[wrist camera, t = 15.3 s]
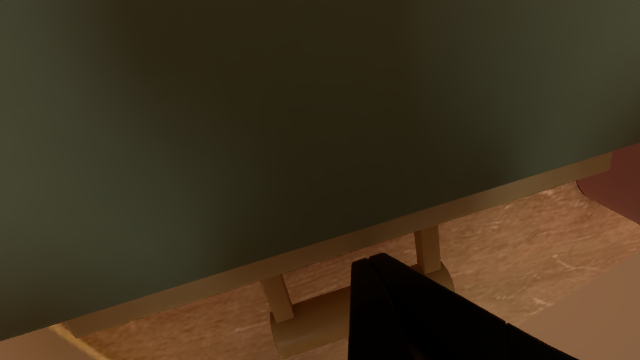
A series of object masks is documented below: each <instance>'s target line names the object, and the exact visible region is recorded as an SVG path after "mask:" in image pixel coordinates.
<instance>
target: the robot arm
mask: <svg viewBox="0 0 640 360" xmlns="http://www.w3.org/2000/svg"><path fill="white" fill-rule="evenodd" d="M348 360H578V359H576V358H574V357H572V356H570V355H568V354H566V353H564V352H562V351H560V350H558V349H556V348H554V347H551V346H550V345H548V344H546V343H544V342H542V341H540V340H539V339H537V338H535V337H533V336H531V335H529V334H528V333H526V332H524V331H522V330H520V329H519V328H517V327H515V326H513V325H512V324H510V323H507V324H506V322H505V321H504V320H502V319H501V318H499V317H497V316H495V315H494V314H492V313H490V312H488V311H487V310H485V309H483V308H481V307H480V306H478V305H476V304H474V303H472V302H471V301H469V300H467V299H465V298H464V297H462V296H460V295H458V294H457V293H455V292H453V291H451V290H450V289H448V288H446V287H444V286H442V285H441V284H439V283H437V282H435V281H434V280H432V279H430V278H428V277H427V276H425V275H423V274H421V273H420V272H418V271H416V270H414V269H413V268H411V267H409V266H407V265H405V264H404V263H402V262H400V261H398V260H397V259H395V258H393V257H391V256H390V255H388V254H386V253H379V254H376V255H373V256H370V257H369V259H367V258H363V259H360V260H357V261H354V262H353V263H352V265H351V289H350V315H349V340H348Z"/></svg>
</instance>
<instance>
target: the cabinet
mask: <svg viewBox="0 0 640 360" xmlns="http://www.w3.org/2000/svg"><path fill="white" fill-rule="evenodd" d="M637 143H640V0H0V341H3V340H6V339H9V338H13V337H16V336H19V335H22V334H25V333H29V332H32V331H35V330H38V329H41V328H45V327H48V326H51V325H54V324H58V323H61V322H64V321H67V320H71V319H74V318H77V317H80V316H83V315H87V314H90V313H93V312H96V311H99V310H103V309H106V308H109V307H112V306H116V305H119V304H122V303H125V302H128V301H132V300H135V299H138V298H141V297H145V296H148V295H151V294H154V293H157V292H161V291H164V290H167V289H170V288H174V287H177V286H180V285H183V284H186V283H190V282H193V281H196V280H199V279H203V278H206V277H209V276H212V275H215V274H219V273H222V272H225V271H228V270H232V269H235V268H238V267H241V266H244V265H248V264H251V263H254V262H257V261H261V260H264V259H267V258H270V257H273V256H277V255H280V254H283V253H286V252H290V251H293V250H296V249H299V248H302V247H306V246H309V245H312V244H315V243H319V242H322V241H325V240H328V239H331V238H335V237H338V236H341V235H344V234H347V233H351V232H354V231H357V230H360V229H364V228H367V227H370V226H373V225H376V224H380V223H383V222H386V221H389V220H393V219H396V218H399V217H402V216H405V215H409V214H412V213H415V212H418V211H422V210H425V209H428V208H431V207H434V206H438V205H441V204H444V203H447V202H451V201H454V200H457V199H460V198H463V197H467V196H470V195H473V194H476V193H480V192H483V191H486V190H489V189H492V188H496V187H499V186H502V185H505V184H509V183H512V182H515V181H518V180H521V179H525V178H528V177H531V176H534V175H538V174H541V173H544V172H547V171H550V170H554V169H557V168H560V167H563V166H567V165H570V164H573V163H576V162H579V161H583V160H586V159H589V158H592V157H595V156H599V155H602V154H605V153H608V152H612V151H615V150H618V149H621V148H624V147H628V146H631V145H634V144H637Z"/></svg>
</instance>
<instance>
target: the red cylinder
mask: <svg viewBox="0 0 640 360" xmlns="http://www.w3.org/2000/svg"><path fill="white" fill-rule="evenodd" d="M577 181H578V185H579V187H580V189H581V191H582V192H583V193H584V194H585V195H586V196H587V197H589V198H590V199H592V200H594V201H596V202H598V203H600V204H602V205H603V206H605V207H607V208H609V209H611V210H613V211H615V212H617V213H618V214H620V215H622V216H624V217H626V218H628V219H630V220H632V221H634V222H635V223H637V224H639V225H640V143H637V144H634V145H631V146H628V147H624V148H621V149H618V150H615V151H613V152H612V158H611V163H610V169H609V170H608V171H605V172H602V173H599V174H595V175H592V176H589V177H586V178H583V179H580V180H577Z"/></svg>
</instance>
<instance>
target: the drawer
mask: <svg viewBox="0 0 640 360" xmlns="http://www.w3.org/2000/svg"><path fill="white" fill-rule="evenodd" d="M612 152H613V151H612ZM612 152H608V153H605V154H602V155H599V156H595V157H592V158H589V159H586V160H583V161H579V162H576V163H573V164H570V165H567V166H563V167H560V168H557V169H554V170H550V171H547V172H544V173H541V174H538V175H534V176H531V177H528V178H525V179H521V180H518V181H515V182H512V183H509V184H505V185H502V186H499V187H496V188H492V189H489V190H486V191H483V192H480V193H476V194H473V195H470V196H467V197H463V198H460V199H457V200H454V201H451V202H447V203H444V204H441V205H438V206H434V207H431V208H428V209H425V210H422V211H418V212H415V213H412V214H409V215H405V216H402V217H399V218H396V219H393V220H389V221H386V222H383V223H380V224H376V225H373V226H370V227H367V228H364V229H360V230H357V231H354V232H351V233H347V234H344V235H341V236H338V237H335V238H331V239H328V240H325V241H322V242H319V243H315V244H312V245H309V246H306V247H302V248H299V249H296V250H293V251H290V252H286V253H283V254H280V255H277V256H273V257H270V258H267V259H264V260H261V261H257V262H254V263H251V264H248V265H244V266H241V267H238V268H235V269H232V270H228V271H225V272H222V273H219V274H215V275H212V276H209V277H206V278H203V279H199V280H196V281H193V282H190V283H186V284H183V285H180V286H177V287H174V288H170V289H167V290H164V291H161V292H157V293H154V294H151V295H148V296H145V297H141V298H138V299H135V300H132V301H128V302H125V303H122V304H119V305H116V306H112V307H109V308H106V309H103V310H99V311H96V312H93V313H90V314H87V315H83V316H80V317H77V318H74V319H71V320H67V321H64V324H65V325H66V326H67V328H68V329H69V330H70V332H71V333H72V334H73V336H74V337H75V338H80V337H83V336H86V335H89V334H92V333H96V332H99V331H102V330H105V329H108V328H111V327H115V326H118V325H121V324H124V323H127V322H130V321H133V320H137V319H140V318H143V317H146V316H149V315H152V314H156V313H159V312H162V311H165V310H168V309H171V308H175V307H178V306H181V305H184V304H187V303H190V302H194V301H197V300H200V299H203V298H206V297H209V296H213V295H216V294H219V293H222V292H225V291H228V290H232V289H235V288H238V287H241V286H244V285H247V284H251V283H254V282H257V281H261V283H262V286H263V289H264V291H265V294H266V297H267V299H268V302H269V305H270V307H271V310H272V312H270V324H271V329H272V334H273V338H274V341H275V345H276V348H277V351H278V354H279V356H280V357H281V358H282V359H284V358H287V357H290V356H293V355H296V354H299V353H302V352H305V351H308V350H311V349H314V348H316V347H319V346H322V345H325V344H328V343H331V342H334V341H337V340H340V339H343V338H346V337H349V315H350V289H351V286H348V287H345V288H342V289H339V290H336V291H333V292H329V293H326V294H323V295H320V296H317V297H314V298H311V299H308V300H305V301H302V302H299V303H296V304H293V305H292V303H291V300H290V297H289V294H288V291H287V288H286V285H285V282H284V279H283V276H282V273H285V272H289V271H292V270H295V269H298V268H301V267H304V266H307V265H311V264H314V263H317V262H320V261H323V260H326V259H330V258H333V257H336V256H339V255H342V254H345V253H349V252H352V251H355V250H358V249H361V248H364V247H368V246H371V245H374V244H377V243H380V242H383V241H387V240H390V239H393V238H396V237H399V236H402V235H406V234H409V233H412V232H414V236H415V245H416V254H417V263H418V264H415V265H412V266H409V267H411V268H413V269H414V270H416V271H418V272H420V273H421V274H423V275H425V276H427V277H428V278H430V279H432V280H434V281H435V282H437V283H439V284H441V285H442V286H444V287H446V288H448V289H450V290H451V291H453V292H455V290H454V285H453V282H452V279H451V277H450V274H449V272H448V270H447V269H446V267H445V266H444V264H443V263H442V262H441V261H440V248H439V235H438V224H440V223H444V222H447V221H450V220H453V219H456V218H459V217H463V216H466V215H469V214H472V213H475V212H478V211H481V210H485V209H488V208H491V207H494V206H497V205H500V204H504V203H507V202H510V201H513V200H516V199H519V198H523V197H526V196H529V195H532V194H535V193H538V192H542V191H545V190H548V189H551V188H554V187H557V186H561V185H564V184H567V183H570V182H573V181H576V180H580V179H583V178H586V177H589V176H592V175H595V174H599V173H602V172H605V171H608V170H609V169H610V163H611V158H612Z"/></svg>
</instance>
